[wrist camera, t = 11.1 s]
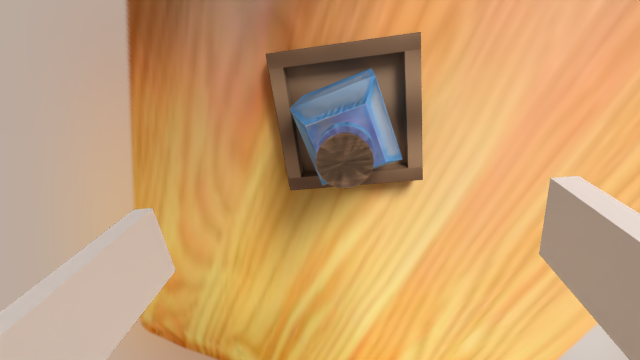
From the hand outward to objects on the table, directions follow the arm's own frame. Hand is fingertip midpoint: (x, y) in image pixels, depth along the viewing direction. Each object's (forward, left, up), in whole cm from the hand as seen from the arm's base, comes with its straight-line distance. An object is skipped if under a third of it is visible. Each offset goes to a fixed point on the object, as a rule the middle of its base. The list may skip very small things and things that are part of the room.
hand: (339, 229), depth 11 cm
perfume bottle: (0, 0, -19) cm, 19 cm away
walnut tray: (0, 0, -20) cm, 20 cm away
